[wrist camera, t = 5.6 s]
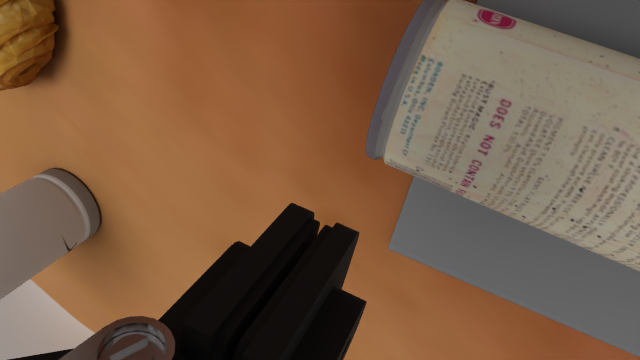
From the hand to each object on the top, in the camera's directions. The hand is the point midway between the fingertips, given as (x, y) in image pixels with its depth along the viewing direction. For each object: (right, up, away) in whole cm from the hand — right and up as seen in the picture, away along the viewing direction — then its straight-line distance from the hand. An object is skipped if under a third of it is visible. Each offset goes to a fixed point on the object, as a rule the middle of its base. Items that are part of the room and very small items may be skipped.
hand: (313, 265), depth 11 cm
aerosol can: (+3, +6, +8) cm, 11 cm away
